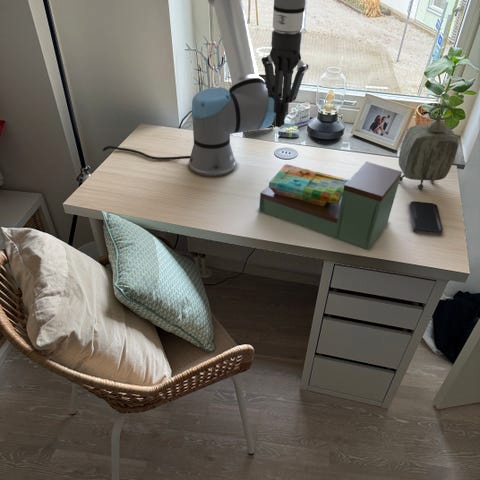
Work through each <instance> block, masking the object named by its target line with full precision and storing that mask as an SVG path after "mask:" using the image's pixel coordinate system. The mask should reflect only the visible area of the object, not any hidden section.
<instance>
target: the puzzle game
mask: <svg viewBox="0 0 480 480" xmlns="http://www.w3.org/2000/svg"><path fill="white" fill-rule="evenodd" d="M349 180H350V179H347V178H343V177H339V176H335V175H331V174H327V173H323V172H320V171H319V172H318V171H314V170H312V169H308V168H303V167H300V166H295V165H292V164H288V163H287V164H284V165H283V166H282V167H281V168H280V170H278V172H277V173H276V174H275V175H274V177H272V179H271V180H270V181H269V182H268V186H269V187H270V189H271V190H272V191H273V192H274V193H275V194H279V195H283V196H286V197H290V198H294V199H298V200H302V201H306V202H310V203H313V204H317V205H321V206H324V205H326V203H327V202H328V203H332V204H338V202H339V201H340V199H341V198H342V195H343V190H344V185H345V184H346V183H347V182H348V181H349Z"/></svg>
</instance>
